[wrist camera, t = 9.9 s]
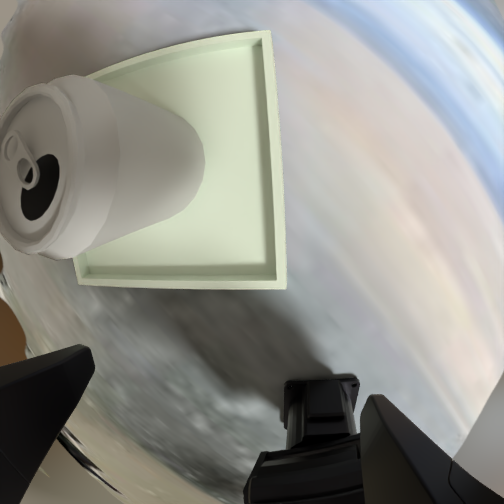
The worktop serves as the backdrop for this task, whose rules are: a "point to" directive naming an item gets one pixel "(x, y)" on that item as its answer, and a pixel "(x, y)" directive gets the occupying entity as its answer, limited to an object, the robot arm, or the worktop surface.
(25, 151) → the can
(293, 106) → the worktop surface
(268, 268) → the tray
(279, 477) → the robot arm
